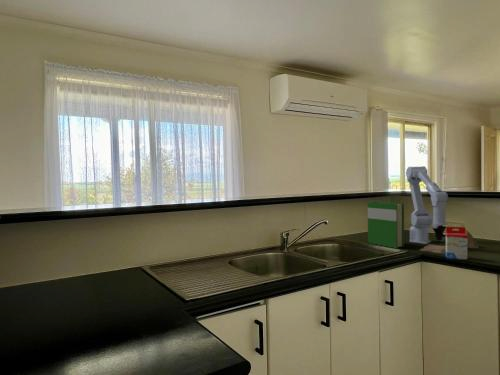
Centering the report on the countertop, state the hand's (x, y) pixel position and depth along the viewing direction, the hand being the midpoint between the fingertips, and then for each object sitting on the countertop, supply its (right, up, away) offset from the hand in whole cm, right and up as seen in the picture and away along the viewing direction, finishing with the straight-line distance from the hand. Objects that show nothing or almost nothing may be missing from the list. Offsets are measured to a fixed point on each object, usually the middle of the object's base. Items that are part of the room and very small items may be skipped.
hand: (439, 239), depth 189 cm
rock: (+15, -4, +1) cm, 15 cm away
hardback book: (-25, -5, +10) cm, 27 cm away
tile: (-2, -3, -2) cm, 4 cm away
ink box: (-3, -6, -21) cm, 22 cm away
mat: (-4, -5, -4) cm, 7 cm away
